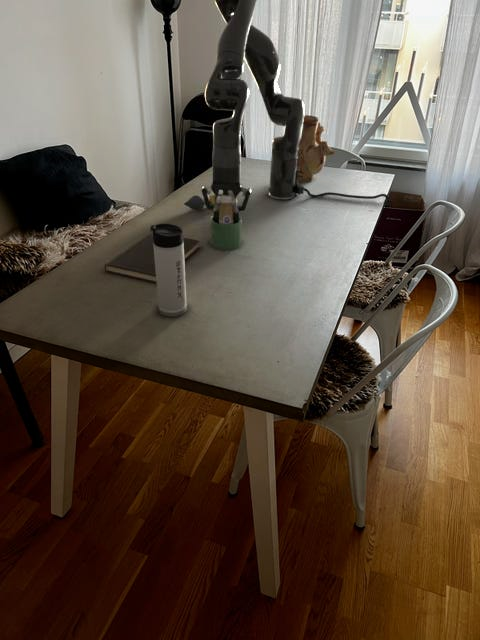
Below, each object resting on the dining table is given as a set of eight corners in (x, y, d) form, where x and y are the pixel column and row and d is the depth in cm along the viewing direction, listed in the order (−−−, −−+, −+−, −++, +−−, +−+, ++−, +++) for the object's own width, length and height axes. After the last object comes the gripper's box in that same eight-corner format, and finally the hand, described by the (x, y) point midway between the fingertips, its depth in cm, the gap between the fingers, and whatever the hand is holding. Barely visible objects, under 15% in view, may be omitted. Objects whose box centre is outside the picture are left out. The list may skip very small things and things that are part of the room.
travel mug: (158, 302, 108) (151, 221, 97) (186, 302, 109) (183, 220, 98) (156, 317, 103) (148, 233, 92) (186, 316, 104) (182, 232, 92)
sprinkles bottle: (221, 243, 133) (221, 197, 126) (216, 236, 137) (216, 191, 129) (236, 241, 135) (237, 195, 127) (231, 235, 138) (231, 190, 131)
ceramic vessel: (330, 185, 184) (339, 117, 170) (283, 186, 182) (288, 117, 168) (318, 172, 199) (326, 108, 185) (274, 172, 197) (278, 108, 183)
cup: (233, 235, 141) (233, 211, 137) (246, 246, 135) (246, 222, 131) (206, 240, 138) (205, 215, 134) (218, 252, 131) (218, 226, 127)
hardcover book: (200, 248, 133) (199, 240, 132) (159, 284, 115) (159, 276, 114) (151, 238, 138) (150, 231, 137) (105, 271, 120) (103, 263, 119)
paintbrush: (225, 198, 168) (225, 184, 166) (234, 201, 166) (234, 188, 163) (181, 211, 157) (180, 196, 154) (190, 215, 154) (190, 200, 151)
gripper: (254, 160, 126) (252, 220, 136) (202, 157, 127) (203, 217, 137) (252, 168, 120) (250, 230, 130) (197, 165, 121) (199, 227, 130)
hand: (226, 223), depth 133 cm, fingers closed on sprinkles bottle, 4 cm apart
